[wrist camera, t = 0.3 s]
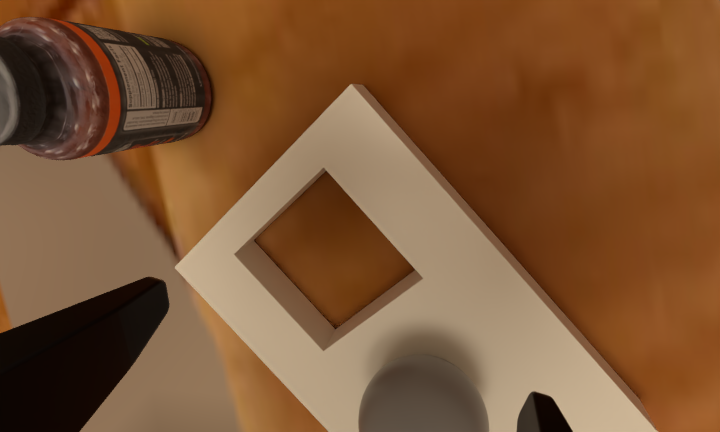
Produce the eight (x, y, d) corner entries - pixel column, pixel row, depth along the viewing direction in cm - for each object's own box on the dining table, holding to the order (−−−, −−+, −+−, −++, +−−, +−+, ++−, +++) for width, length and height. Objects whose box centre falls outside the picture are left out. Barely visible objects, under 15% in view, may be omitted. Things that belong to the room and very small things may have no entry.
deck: (428, 499, 30) (424, 534, 27) (198, 253, 28) (174, 267, 26) (640, 400, 24) (658, 433, 21) (362, 84, 23) (351, 83, 20)
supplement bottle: (139, 139, 27) (-69, 170, 16) (124, 41, 25) (-120, 5, 15) (221, 141, 26) (51, 175, 15) (210, 37, 24) (10, -6, 13)
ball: (422, 442, 25) (408, 553, 19) (351, 366, 25) (314, 453, 19) (511, 394, 23) (527, 503, 17) (433, 309, 23) (422, 388, 16)
